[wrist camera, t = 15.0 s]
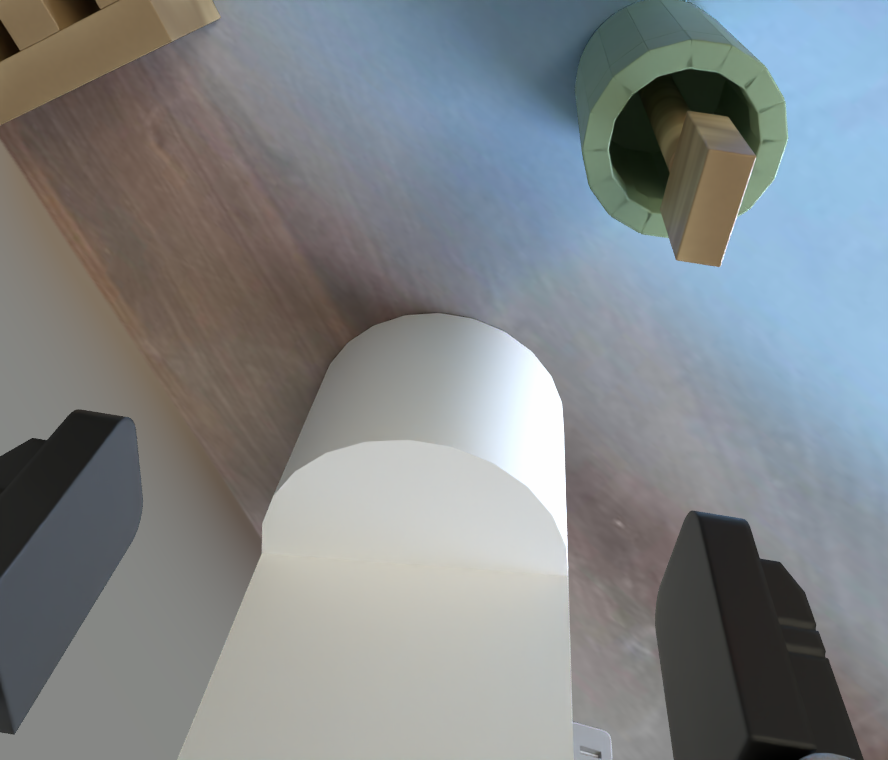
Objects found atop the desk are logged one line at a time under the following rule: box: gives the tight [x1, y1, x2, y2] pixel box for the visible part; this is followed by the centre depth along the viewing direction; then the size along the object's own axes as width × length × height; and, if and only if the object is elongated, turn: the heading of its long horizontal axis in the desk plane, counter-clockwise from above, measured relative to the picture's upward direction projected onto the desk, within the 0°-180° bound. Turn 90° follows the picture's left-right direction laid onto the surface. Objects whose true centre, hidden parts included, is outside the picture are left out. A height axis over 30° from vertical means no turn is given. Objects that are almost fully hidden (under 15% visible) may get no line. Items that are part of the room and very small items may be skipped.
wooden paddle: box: [638, 74, 756, 267], centre depth 36 cm, size 2×4×19 cm, turn 173°
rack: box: [0, 0, 221, 125], centre depth 42 cm, size 7×12×7 cm, turn 113°
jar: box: [575, 0, 788, 238], centre depth 39 cm, size 8×8×12 cm
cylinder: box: [177, 313, 574, 760], centre depth 46 cm, size 17×17×28 cm
